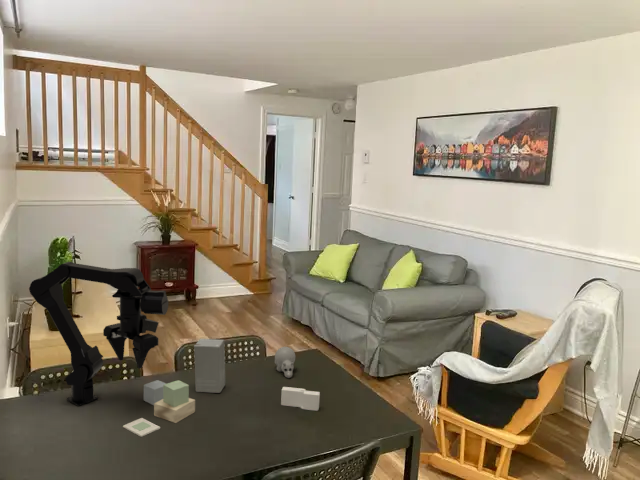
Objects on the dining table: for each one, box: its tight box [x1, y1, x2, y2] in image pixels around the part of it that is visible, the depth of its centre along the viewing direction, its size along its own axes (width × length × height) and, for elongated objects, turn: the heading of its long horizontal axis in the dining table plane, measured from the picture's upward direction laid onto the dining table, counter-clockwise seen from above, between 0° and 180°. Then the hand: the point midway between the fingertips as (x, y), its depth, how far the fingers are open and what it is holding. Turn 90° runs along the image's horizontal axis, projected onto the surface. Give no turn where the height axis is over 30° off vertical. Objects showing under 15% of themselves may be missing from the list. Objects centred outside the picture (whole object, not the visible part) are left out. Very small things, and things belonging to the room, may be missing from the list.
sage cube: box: [163, 379, 190, 407], centre depth 152 cm, size 5×5×5 cm
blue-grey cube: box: [143, 379, 167, 406], centre depth 161 cm, size 5×5×5 cm
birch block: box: [153, 397, 196, 424], centre depth 153 cm, size 8×8×4 cm
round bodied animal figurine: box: [274, 346, 296, 379], centre depth 186 cm, size 7×12×8 cm, turn 13°
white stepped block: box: [280, 386, 321, 412], centre depth 161 cm, size 15×11×6 cm
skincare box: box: [193, 338, 226, 394], centre depth 169 cm, size 8×7×16 cm
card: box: [122, 417, 161, 437], centre depth 144 cm, size 8×6×1 cm
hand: (130, 364), depth 157 cm, fingers open, 9 cm apart
